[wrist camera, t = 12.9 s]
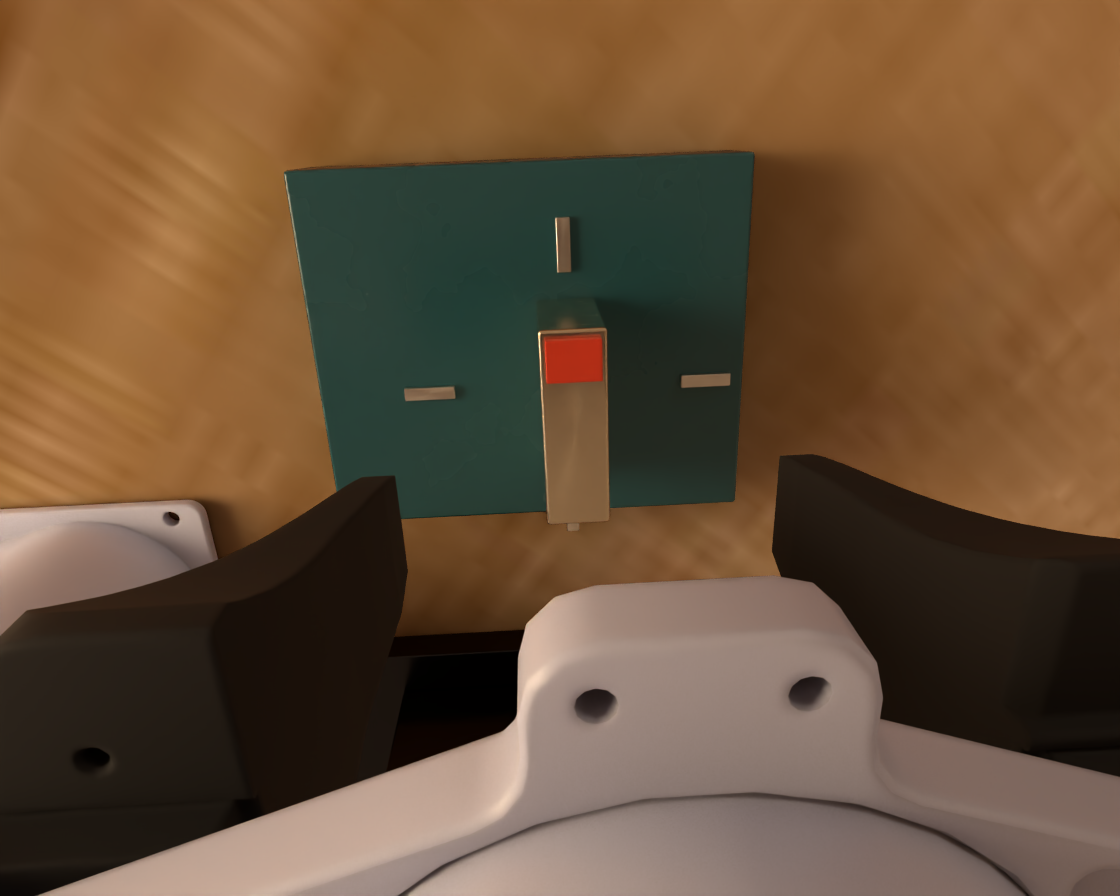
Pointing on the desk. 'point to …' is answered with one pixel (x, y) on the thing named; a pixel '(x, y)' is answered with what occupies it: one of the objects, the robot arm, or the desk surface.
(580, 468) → the tan rectangular block
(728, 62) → the desk surface
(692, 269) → the panel
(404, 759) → the faucet stand
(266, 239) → the desk surface
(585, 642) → the robot arm
